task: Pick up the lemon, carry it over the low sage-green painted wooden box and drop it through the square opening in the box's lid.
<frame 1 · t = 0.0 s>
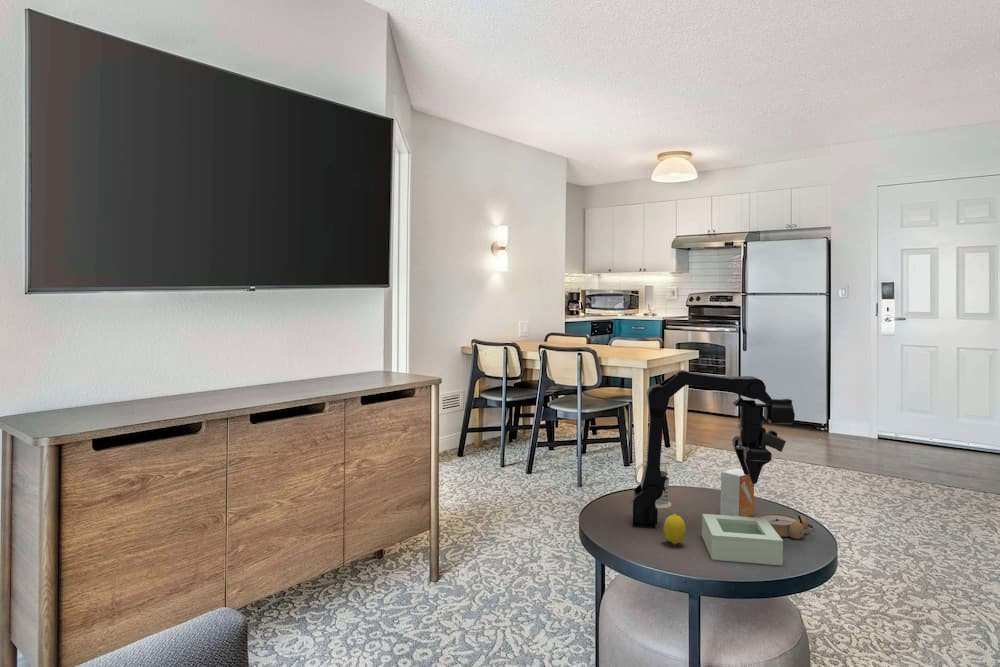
hand: (750, 478, 161), 15 cm above the table, fingers open, 9 cm apart
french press: (652, 503, 185), on the table
alarm clock: (784, 533, 161), on the table
coin box: (739, 549, 148), on the table
small box: (736, 515, 175), on the table
lemon: (674, 545, 151), on the table
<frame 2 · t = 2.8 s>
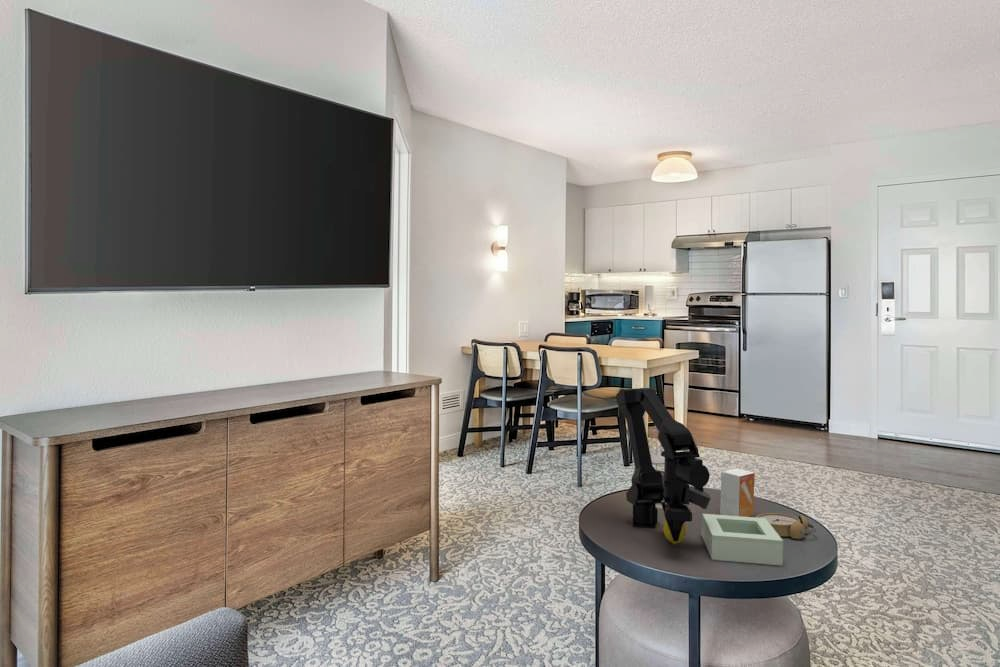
hand: (674, 536, 151), 2 cm above the table, fingers closed on lemon, 5 cm apart
lemon: (674, 545, 151), on the table, touching gripper
everything else where it was.
when the fingers open (8 cm above the table, at t = 6.8 s): lemon drops 4 cm, resting on coin box.
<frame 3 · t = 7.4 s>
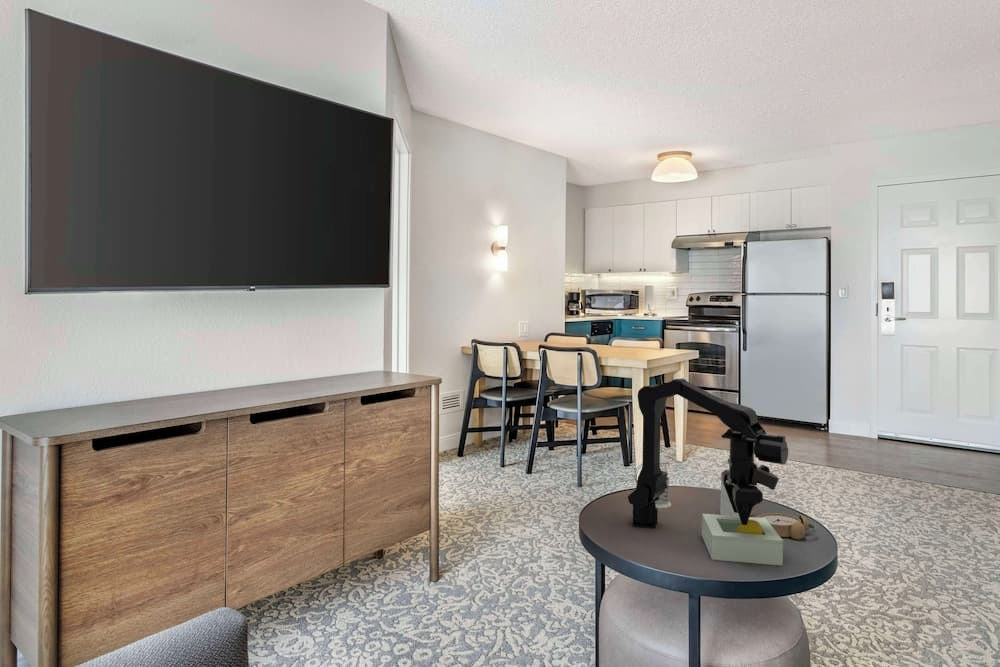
hand: (740, 518, 148), 8 cm above the table, fingers open, 9 cm apart
lemon: (740, 543, 148), point 2 cm above the table, touching coin box
everything else where it was.
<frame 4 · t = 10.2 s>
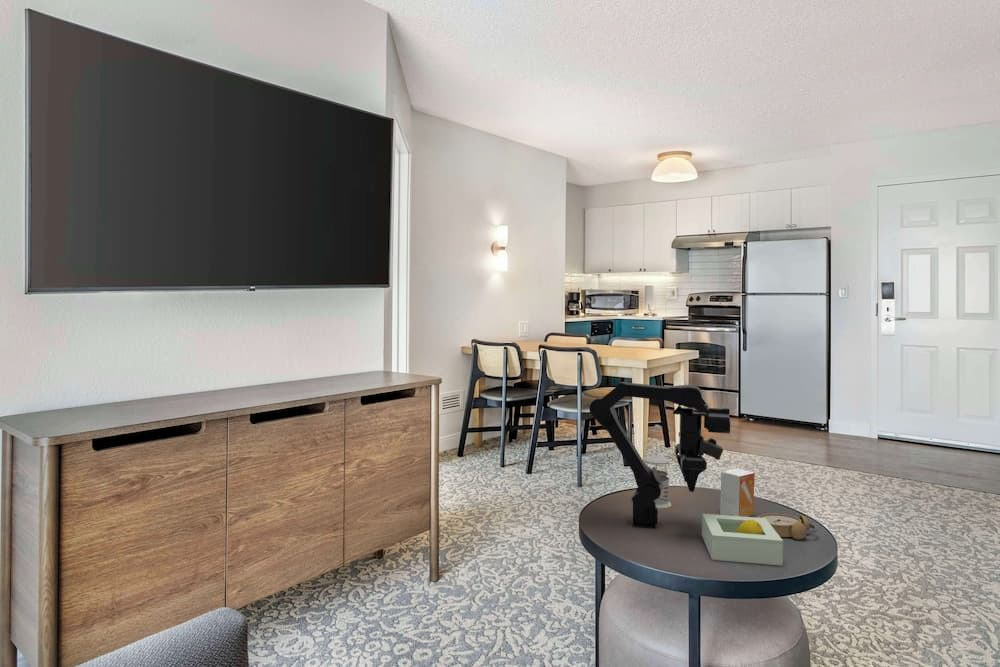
hand: (689, 486, 162), 12 cm above the table, fingers open, 9 cm apart
nothing on the table moved.
at the end: lemon inside the target area on the coin box (0.1 cm from its centre), point 1.7 cm above the coin box's base; lemon touching coin box; the gripper is holding nothing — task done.
